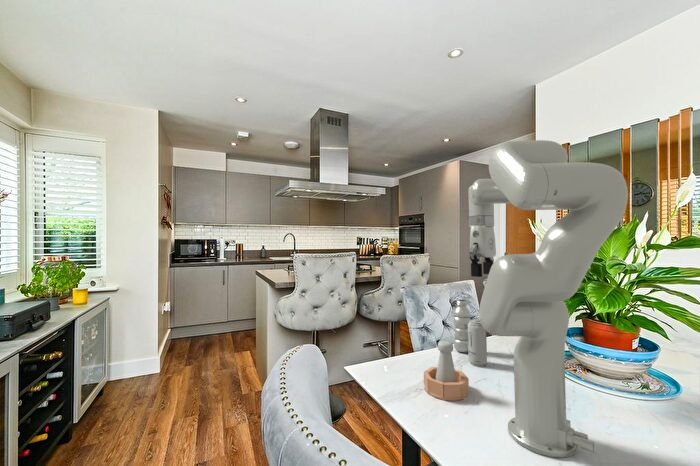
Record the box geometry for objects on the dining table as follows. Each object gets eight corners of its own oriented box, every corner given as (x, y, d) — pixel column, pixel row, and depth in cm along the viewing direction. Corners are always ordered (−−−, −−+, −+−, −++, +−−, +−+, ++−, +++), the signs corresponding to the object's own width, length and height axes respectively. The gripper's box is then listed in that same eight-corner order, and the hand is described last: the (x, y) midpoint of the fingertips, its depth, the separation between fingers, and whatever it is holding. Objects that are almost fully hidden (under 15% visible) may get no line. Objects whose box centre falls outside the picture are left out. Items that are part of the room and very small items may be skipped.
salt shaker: (458, 393, 83) (457, 346, 84) (436, 391, 84) (435, 345, 85) (455, 383, 89) (454, 339, 89) (435, 382, 90) (434, 338, 91)
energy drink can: (465, 360, 108) (464, 319, 109) (482, 360, 109) (481, 318, 109) (473, 367, 102) (472, 323, 103) (490, 367, 103) (489, 323, 103)
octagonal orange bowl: (474, 389, 87) (474, 374, 87) (456, 406, 78) (455, 389, 78) (437, 377, 95) (437, 363, 95) (416, 390, 87) (416, 375, 87)
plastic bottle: (474, 354, 114) (473, 301, 115) (457, 354, 114) (455, 302, 115) (468, 348, 121) (467, 298, 121) (451, 348, 121) (450, 298, 122)
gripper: (482, 220, 88) (484, 278, 87) (503, 222, 100) (504, 274, 100) (458, 221, 93) (459, 276, 93) (480, 224, 105) (481, 272, 105)
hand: (482, 275), depth 96 cm, fingers open, 9 cm apart
